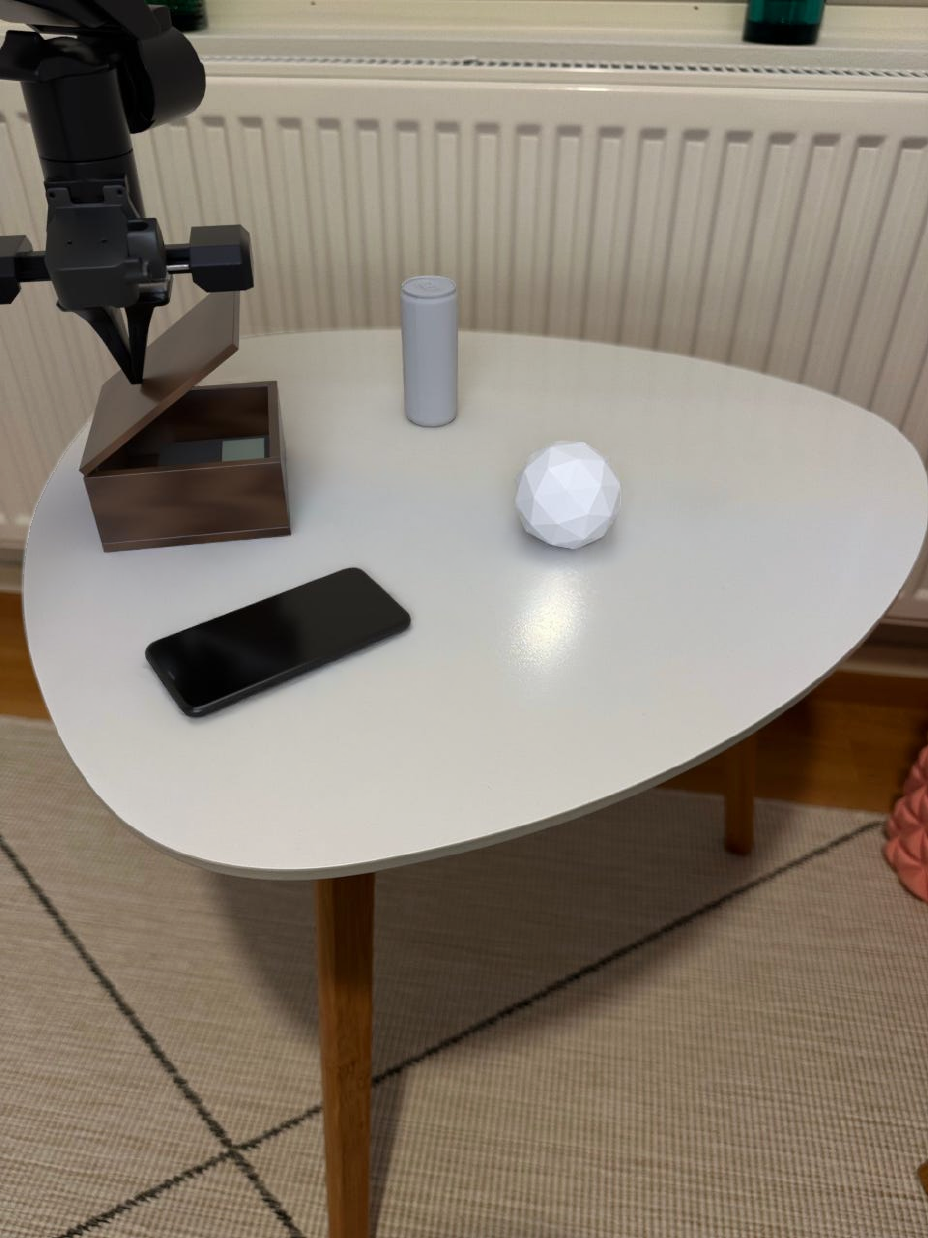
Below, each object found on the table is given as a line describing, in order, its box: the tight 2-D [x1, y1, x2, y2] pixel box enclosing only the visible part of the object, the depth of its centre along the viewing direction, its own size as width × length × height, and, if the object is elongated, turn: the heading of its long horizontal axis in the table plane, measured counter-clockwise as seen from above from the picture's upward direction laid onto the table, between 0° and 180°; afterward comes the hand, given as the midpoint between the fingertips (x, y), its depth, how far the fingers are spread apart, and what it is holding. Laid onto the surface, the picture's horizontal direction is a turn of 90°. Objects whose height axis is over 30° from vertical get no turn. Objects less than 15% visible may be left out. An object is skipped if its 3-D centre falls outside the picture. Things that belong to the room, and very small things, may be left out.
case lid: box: [78, 291, 241, 477], centre depth 71 cm, size 14×14×1 cm
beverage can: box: [399, 274, 459, 428], centre depth 85 cm, size 5×5×12 cm
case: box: [82, 379, 292, 553], centre depth 76 cm, size 14×14×6 cm
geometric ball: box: [514, 439, 622, 550], centre depth 71 cm, size 8×8×8 cm
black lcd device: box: [157, 435, 270, 467], centre depth 76 cm, size 8×6×3 cm, turn 100°
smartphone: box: [144, 566, 412, 719], centre depth 63 cm, size 8×1×16 cm
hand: (137, 382), depth 71 cm, fingers closed
